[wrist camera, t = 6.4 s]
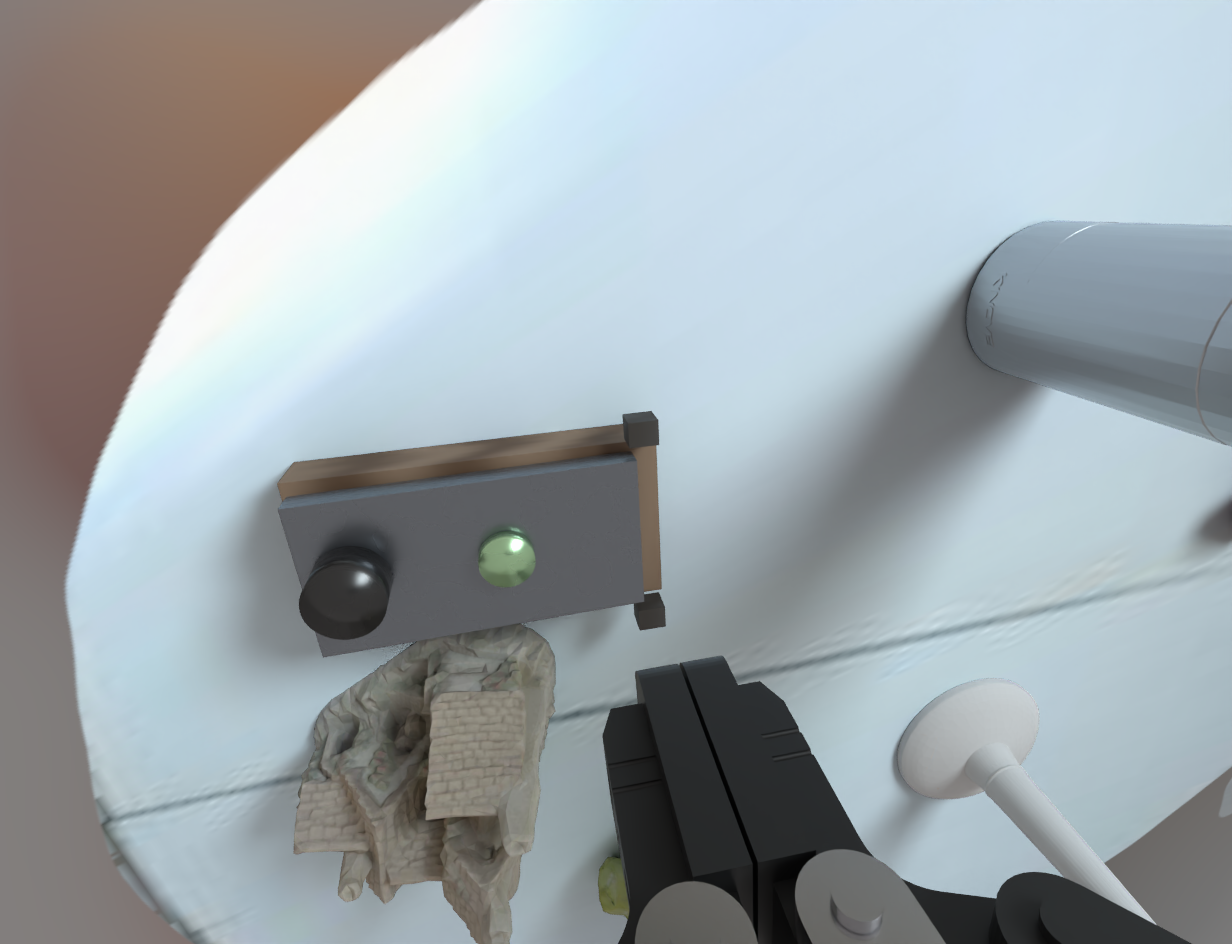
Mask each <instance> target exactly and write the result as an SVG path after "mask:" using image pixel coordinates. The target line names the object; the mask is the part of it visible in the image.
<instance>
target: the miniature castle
mask: <svg viewBox="0 0 1232 944" xmlns="http://www.w3.org/2000/svg"><path fill="white" fill-rule="evenodd" d="M554 686H555V656H554V654H553V652H552V650H551V648H550V646H549V642H547V640H546V639H545V638H543V637H541V636H540V635H539V634H538V633H536V632H535V631H534V630H532V629H530V628H528V627H527V628H526V627H524V626H523V625H522V624H521V623H518V624H512V625H507V626H501V627H495V628H489V629H484V630H478V631H472V632H466V633H460V634H455V635H449V636H443V637H437V638H432V639H426V640H420V641H417V642H416V643H414V644H413V645H411V646H409V647H408V648H407V649H405V650H404V651H403V652H402V653H400V654H398V655H397V656H395V657H394V658H392V659H391V660H390V661H388V662H387V663H386V664H385V665H381V666H380V667H379V668H378V669H377V670H376V671H374V672H373V673H372V674H369V675H368V676H367V677H366V678H363V679H362V680H360V681H359V682H357V683H356V684H354V685H353V686H352V687H351V688H350V689H349V688H348V689H347V690H346V691H344V692H343V693H341V694H340V695H338V696H337V697H335V698H333V699H331V701H330V702H329V703H328V704H327V705H326V706H325V707H324V708H323V709H322V710H321V712H320V714H319V716H318V719H317V721H316V726H315V728H314V730H315V733H314V738H315V746H316V750H315V752H314V754H313V756H312V758H311V760H310V763H309V768H308V769H307V770H306V771H305V772H304V773H303V774H302V783H301V787H300V789H299V791H298V796H299V798H300V803H299V805H298V806H297V808H298V810H297V815H296V823H295V833H294V854H300V853H305V852H323V851H341V852H344V856H343V861H342V867H341V874H340V881H339V886H338V896H339V897H340V898H341V899H343V900H344V901H345V902H349V901H353V900H355V899H357V898H359V896H360V895H361V893H362V887H363V882H364V880H365V878H366V882H367V883H368V884H369V888H370V889H372V890H373V891H374V894H375V895H377V896H378V897H380V899H381V901H382V902H383V903H384V904H386V903H388V902H389V901H390V900H391V899H393V897H394V895H395V893H396V891H397V890H398V889H399V888H400V887H401V885H402V884H414V883H419V882H424V881H442V885H443V892H444V897H445V898H446V900H447V901H448V902H449V903H450V904H451V905H452V906H453V910H454V911H455V912H456V913H457V914H458V915H459V917H460V918H461V919H462V920H463V921H464V922H465V923H466V925H467V928H468V929H469V930H470V935H471V937H473V938H474V939H475V941H476V943H478V944H510V943H509V940H510V937H511V934H512V920H511V910H510V906H509V902H508V901H509V900H510V899H511V898H512V897H513V896H514V894H515V892H516V891H517V887H518V883H519V878H520V862H521V856H522V854H525V853H527V852H529V851H531V849H532V844H533V840H534V829H535V821H536V816H537V810H538V804H539V798H540V792H541V789H540V782H539V762H540V756H541V753H542V750H543V749H544V746H545V739H546V735H547V728H548V723H549V719H550V718H551V716H552V715H553V714H554V712H555V708H554V705H553V703H554V702H555V700H554V693H553V689H554Z"/></svg>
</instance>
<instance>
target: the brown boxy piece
mask: <svg viewBox="0 0 1232 944" xmlns="http://www.w3.org/2000/svg"><path fill="white" fill-rule="evenodd" d="M656 445H659V430H658V419H657V418H656V417H655V415H654V414H653V413H652V411H648V412H639V413H631V414H623V424H619V425H610V426H602V427H593V428H584V429H576V430H567V431H559V432H550V433H542V434H533V435H524V436H516V437H507V438H499V439H490V440H481V441H473V442H464V443H456V444H447V445H438V446H430V447H421V448H413V449H404V450H396V451H387V452H378V453H370V454H361V455H353V456H344V457H335V458H327V459H318V460H310V461H301V462H294V463H293V464H292V465H291V467H290V468H289V469H288V470H287V472H286V473H285V474H284V476H283V477H282V478H281V479H280V481H279V482H278V483H277V485H278V489H279V492H280V495H281V498H282V502H283V501H284V499H285V498H286V497H288V496H296V495H303V494H311V493H318V492H326V491H334V490H341V489H349V488H356V487H364V486H371V485H379V484H386V483H394V482H401V481H409V480H416V479H424V478H431V477H439V476H446V475H454V474H461V473H469V472H477V471H484V470H492V469H499V468H507V467H514V466H522V465H529V464H537V463H544V462H552V461H559V460H567V459H574V458H582V457H589V456H597V455H604V454H612V453H620V452H627V451H631V452H632V454H633V455H634V457H635V458H636V460H637V469H638V488H639V508H640V527H641V546H642V566H643V585H644V592H646V591H653V590H659V589H662V586H661V560H660V534H659V507H658V481H657V455H656ZM634 615H635V618H636V621H637V624H638V627H639V629H640V630H646V629H652V628H658V627H664V626H666V623H665V606H664V604H663V601H662V599H661V597H660V594H659V592H657V593H651V594H645V595H644V602H639V603H634Z"/></svg>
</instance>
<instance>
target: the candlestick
mask: <svg viewBox="0 0 1232 944" xmlns="http://www.w3.org/2000/svg"><path fill="white" fill-rule="evenodd" d="M1038 729H1039V709H1038V706H1037V704H1036V702H1035V700H1034V698H1033V697H1032V696H1031V695H1030V693H1028V692H1027V691H1026V690H1025V689H1024V688H1023V687H1022V686H1020V685H1019V684H1017V683H1015V682H1012V681H1010V680H1006V679H1000V678H986V679H979V680H974V681H970V682H967V683H964V684H961V685H959V686H956V687H954V688H952V689H950V690H948V691H946V692H945V693H943V694H941V695H940V696H938V697H937V698H935V699H934V700H933V701H931V702H930V703H929V704H928V705H927V706H925V707H924V708H923V709H922V710H921V711H920V712H919V713H918V714H917V715H916V717H915V718H914V719H913V720H912V722H911V723H910V724H909V726H908V727H907V729H906V731H905V732H904V734H903V736H902V739H901V741H900V744H899V748H898V754H897V762H898V768H899V771H900V773H901V775H902V777H903V778H904V780H905V781H906V783H907V784H908V785H909V786H910V787H911V788H912V789H913V790H915V791H916V792H918V793H919V794H921V795H924V796H927V797H931V798H937V799H958V798H964V797H969V796H973V795H976V794H979V793H981V792H984V791H985V792H986V794H987V796H988V797H990V798H991V799H992V800H993V801H994V802H995V803H996V804H997V805H998V806H999V807H1000V808H1001V810H1002V811H1003V812H1004V813H1005V814H1006V815H1007V816H1008V817H1009V818H1010V819H1011V820H1012V821H1013V822H1014V824H1015V825H1016V826H1017V827H1018V828H1019V829H1020V830H1021V831H1022V832H1023V833H1024V834H1025V835H1026V837H1027V838H1028V839H1029V840H1030V841H1031V842H1032V843H1033V844H1034V845H1035V846H1036V847H1037V848H1038V850H1039V851H1040V852H1041V853H1042V854H1043V855H1044V856H1045V857H1046V858H1047V859H1048V860H1049V861H1050V863H1051V864H1052V865H1053V866H1054V867H1055V868H1056V869H1057V870H1058V871H1059V872H1060V873H1061V874H1062V876H1063V877H1064V878H1066V879H1069V880H1071V881H1073V882H1075V883H1078V884H1080V885H1082V886H1084V887H1086V888H1087V889H1089V890H1091V891H1093V892H1095V893H1097V894H1099V895H1101V896H1103V897H1104V898H1106V899H1108V900H1110V901H1112V902H1114V903H1116V904H1118V905H1120V906H1121V907H1123V908H1125V909H1127V910H1129V911H1131V912H1133V913H1135V914H1137V915H1138V916H1140V917H1142V918H1144V919H1146V920H1148V921H1150V922H1152V923H1154V924H1155V925H1156V923H1155V922H1154V921H1153V920H1152V919H1151V918H1150V917H1149V915H1148V914H1147V913H1146V912H1145V911H1144V909H1143V908H1142V907H1141V906H1140V905H1139V904H1138V903H1137V901H1136V900H1135V899H1134V898H1133V897H1132V895H1131V894H1130V893H1129V892H1128V891H1127V890H1126V889H1125V887H1124V886H1123V885H1122V884H1121V883H1120V882H1119V880H1118V879H1117V878H1116V877H1115V876H1114V875H1113V873H1112V872H1111V871H1110V870H1109V869H1108V868H1107V866H1106V865H1105V864H1104V863H1103V862H1102V861H1101V859H1100V858H1099V857H1098V856H1097V855H1096V854H1095V852H1094V851H1093V850H1092V849H1091V848H1090V847H1089V845H1088V844H1087V843H1086V842H1085V841H1084V840H1083V838H1082V837H1081V836H1080V835H1079V834H1078V833H1077V831H1076V830H1075V829H1074V828H1073V827H1072V826H1071V824H1070V823H1069V822H1068V821H1067V820H1066V819H1065V817H1064V816H1063V815H1062V814H1061V813H1060V812H1059V810H1058V809H1057V808H1056V807H1055V806H1054V805H1053V803H1052V802H1051V801H1050V800H1049V799H1048V798H1047V796H1046V795H1045V794H1044V793H1043V792H1042V791H1041V789H1040V788H1039V787H1038V786H1037V785H1036V783H1035V782H1034V781H1033V780H1032V779H1031V778H1030V776H1029V775H1028V774H1027V773H1026V771H1025V769H1024V768H1023V767H1021V766H1020V765H1021V764H1022V763H1023V761H1024V760H1025V759H1026V757H1027V756H1028V754H1029V753H1030V751H1031V749H1032V747H1033V745H1034V742H1035V740H1036V737H1037V733H1038Z"/></svg>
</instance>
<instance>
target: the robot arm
mask: <svg viewBox="0 0 1232 944" xmlns="http://www.w3.org/2000/svg"><path fill="white" fill-rule="evenodd" d="M966 325H967V332H968V338H969V340H970V343H971V346H972V348H973V350H974V352H975V353H976V354H977V356H978V357H979V359H980V360H981V361H983V362H984V363H985V364H986V365H988V366H989V367H990V368H993V369H995V370H998V371H1000V372H1003V373H1006V374H1009V375H1013V376H1016V377H1019V378H1022V379H1025V380H1028V381H1031V382H1034V383H1037V384H1040V385H1043V386H1045V387H1049V388H1052V389H1055V390H1058V391H1061V392H1064V393H1067V394H1070V395H1073V396H1076V397H1079V398H1082V399H1086V400H1089V401H1092V402H1095V403H1098V404H1101V405H1104V406H1107V407H1110V408H1113V409H1116V410H1119V411H1123V412H1126V413H1129V414H1132V415H1135V416H1138V417H1141V418H1144V419H1147V420H1150V421H1153V422H1156V423H1160V424H1163V425H1166V426H1169V427H1172V428H1175V429H1178V430H1181V431H1184V432H1187V433H1190V434H1193V435H1196V436H1200V437H1203V438H1206V439H1209V440H1212V441H1215V442H1218V443H1221V444H1224V445H1228V446H1232V226H1228V225H1189V224H1151V223H1118V222H1082V221H1049V222H1041V223H1038V224H1035V225H1032V226H1028V227H1027V228H1025V229H1023V230H1021V231H1019V232H1018V233H1016V234H1014V235H1013V236H1011V237H1010V238H1009V239H1008V240H1006V241H1005V242H1004V243H1003V244H1002V245H1000V246H999V247H998V249H997V250H996V251H995V252H994V253H993V254H992V255H991V256H990V258H989V259H988V260H987V262H986V263H985V265H984V266H983V268H982V270H981V271H980V273H979V274H978V276H977V279H976V281H975V283H974V286H973V288H972V290H971V294H970V298H969V302H968V306H967V319H966ZM635 678H636V689H637V699H638V704H635V705H630V706H624V707H619V708H613V709H611V710H610V713H609V716H608V720H607V723H606V726H605V729H604V732H603V744H604V751H605V759H606V766H607V774H608V781H609V789H610V796H611V804H612V810H613V815H614V821H615V827H616V833H617V839H618V845H619V851H620V857H621V863H622V869H623V875H624V881H625V887H626V893H627V899H628V904H629V916H628V921H627V924H626V927H625V930H624V933H623V935H622V937H621V939H620V941H619V942H618V944H1191V943H1189V942H1187V941H1185V940H1183V939H1182V938H1180V937H1178V936H1176V935H1174V934H1172V933H1170V932H1168V931H1167V930H1165V929H1163V928H1161V927H1159V926H1157V925H1155V924H1154V923H1152V922H1150V921H1148V920H1146V919H1144V918H1142V917H1140V916H1138V915H1137V914H1135V913H1133V912H1131V911H1129V910H1127V909H1125V908H1123V907H1121V906H1120V905H1118V904H1116V903H1114V902H1112V901H1110V900H1108V899H1106V898H1104V897H1103V896H1101V895H1099V894H1097V893H1095V892H1093V891H1091V890H1089V889H1087V888H1086V887H1084V886H1082V885H1080V884H1078V883H1075V882H1073V881H1071V880H1069V879H1066V878H1063V877H1060V876H1057V875H1053V874H1048V873H1041V872H1028V873H1022V874H1018V875H1015V876H1013V877H1011V878H1010V879H1008V880H1007V881H1006V882H1005V883H1004V884H1003V885H1002V886H1001V888H1000V890H999V891H998V894H997V898H996V899H995V898H987V897H979V896H971V895H963V894H955V893H948V892H940V891H935V890H930V889H926V888H923V887H920V886H917V885H914V884H912V883H910V882H908V881H905V880H903V879H902V878H900V877H899V876H898V875H897V874H896V873H895V872H894V871H893V870H892V869H891V868H889V867H888V866H887V865H885V864H884V863H882V862H881V861H879V860H877V859H876V858H874V857H873V856H872V854H871V853H870V852H869V851H868V850H867V848H866V847H865V845H864V844H863V842H862V841H861V839H860V837H859V836H858V834H857V832H856V830H855V828H854V827H853V825H852V823H851V821H850V819H849V818H848V816H847V814H846V812H845V810H844V809H843V807H842V805H841V803H840V801H839V800H838V798H837V796H836V794H835V792H834V791H833V789H832V787H831V785H830V783H829V782H828V780H827V778H826V776H825V774H824V773H823V771H822V769H821V767H820V765H819V764H818V762H817V760H816V758H815V756H814V755H812V754H811V750H810V747H809V746H808V744H807V742H806V740H805V738H804V737H803V735H802V733H800V732H799V729H798V726H797V724H796V722H795V720H794V719H793V717H792V715H791V713H790V711H789V710H788V708H787V706H786V704H785V702H784V701H783V700H782V699H781V698H779V697H778V696H777V695H776V694H775V693H773V692H772V691H771V690H770V689H768V688H767V687H766V686H765V685H764V684H762V683H761V682H760V681H759V682H753V683H748V684H742V685H737V683H736V680H735V678H734V676H733V674H732V672H731V670H730V668H729V666H728V664H727V662H726V660H725V658H724V657H723V656H716V657H711V658H705V659H699V660H694V661H688V662H683V663H680V665H678V664H673V665H667V666H661V667H656V668H650V669H645V670H639V671H636V672H635Z"/></svg>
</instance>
